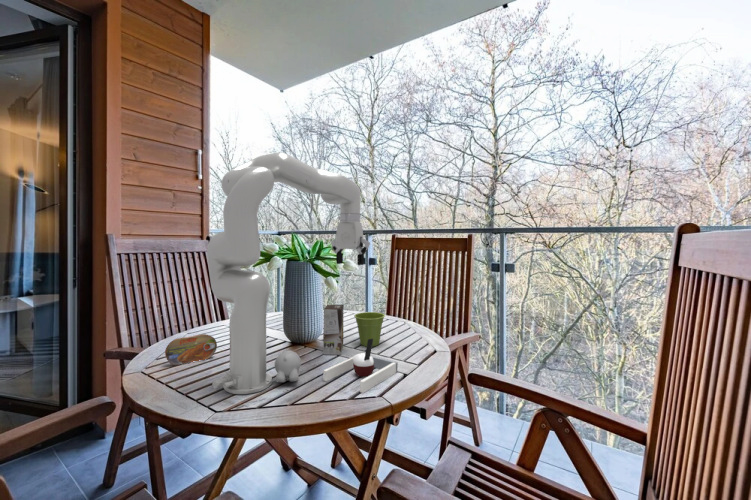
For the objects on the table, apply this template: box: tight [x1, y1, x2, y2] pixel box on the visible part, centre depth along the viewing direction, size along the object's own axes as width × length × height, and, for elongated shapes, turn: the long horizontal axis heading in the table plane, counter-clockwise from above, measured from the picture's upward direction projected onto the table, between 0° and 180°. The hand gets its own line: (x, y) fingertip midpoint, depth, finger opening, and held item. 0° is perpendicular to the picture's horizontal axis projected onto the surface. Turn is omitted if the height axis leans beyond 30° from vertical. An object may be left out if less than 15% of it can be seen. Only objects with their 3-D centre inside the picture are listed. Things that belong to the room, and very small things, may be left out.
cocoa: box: [352, 339, 375, 378], centre depth 104 cm, size 10×6×12 cm, turn 4°
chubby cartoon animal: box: [274, 350, 302, 383], centre depth 101 cm, size 7×12×8 cm, turn 10°
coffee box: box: [322, 304, 345, 356], centre depth 127 cm, size 9×6×16 cm
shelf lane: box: [322, 355, 399, 394], centre depth 104 cm, size 18×14×3 cm
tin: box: [164, 333, 218, 366], centre depth 115 cm, size 15×3×8 cm, turn 130°
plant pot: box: [353, 311, 386, 347], centre depth 135 cm, size 12×12×11 cm
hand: (349, 264), depth 133 cm, fingers open, 9 cm apart
